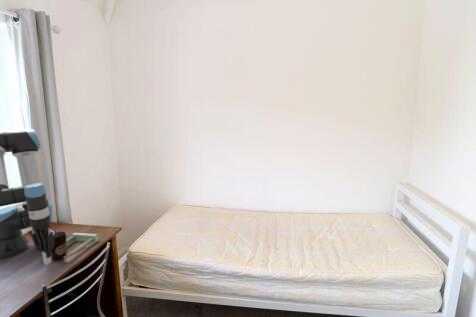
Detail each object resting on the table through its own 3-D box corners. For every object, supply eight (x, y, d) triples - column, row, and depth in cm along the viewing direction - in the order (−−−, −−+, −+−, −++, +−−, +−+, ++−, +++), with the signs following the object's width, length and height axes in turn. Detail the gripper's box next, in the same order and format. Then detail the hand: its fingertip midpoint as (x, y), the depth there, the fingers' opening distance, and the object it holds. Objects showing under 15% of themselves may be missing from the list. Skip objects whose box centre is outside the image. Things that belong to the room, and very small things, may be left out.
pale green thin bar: (42, 260, 136) (41, 255, 135) (72, 240, 155) (72, 236, 155) (46, 260, 136) (45, 255, 135) (75, 241, 155) (75, 236, 154)
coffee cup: (74, 254, 141) (70, 230, 139) (62, 263, 133) (58, 238, 131) (58, 253, 142) (54, 230, 140) (46, 262, 134) (41, 238, 132)
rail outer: (64, 262, 134) (63, 256, 133) (92, 242, 153) (91, 237, 153) (68, 262, 134) (67, 257, 133) (95, 242, 153) (94, 237, 152)
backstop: (72, 240, 155) (71, 234, 155) (75, 239, 157) (74, 232, 157) (95, 242, 153) (94, 235, 152) (97, 240, 155) (97, 234, 154)
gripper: (20, 219, 123) (29, 266, 128) (44, 221, 121) (53, 268, 126) (34, 213, 130) (43, 257, 135) (58, 214, 128) (65, 259, 133)
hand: (47, 262), depth 130 cm, fingers closed
